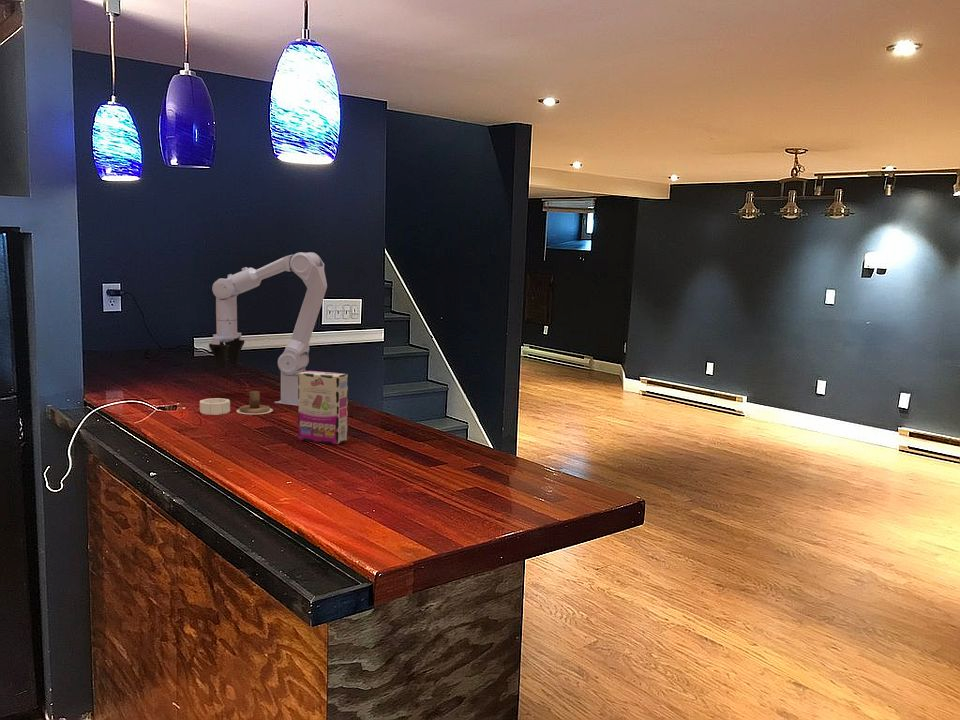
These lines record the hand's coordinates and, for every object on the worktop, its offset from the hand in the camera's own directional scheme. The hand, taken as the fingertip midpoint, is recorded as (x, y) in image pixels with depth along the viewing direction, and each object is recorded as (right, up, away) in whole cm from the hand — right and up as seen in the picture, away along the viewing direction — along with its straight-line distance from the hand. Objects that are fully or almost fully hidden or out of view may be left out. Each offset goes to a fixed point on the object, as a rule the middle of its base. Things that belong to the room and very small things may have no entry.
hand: (227, 366), depth 228 cm
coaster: (+12, -13, -14) cm, 23 cm away
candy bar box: (+36, -18, -41) cm, 57 cm away
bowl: (+2, -13, -18) cm, 22 cm away
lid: (+12, -12, -14) cm, 22 cm away
